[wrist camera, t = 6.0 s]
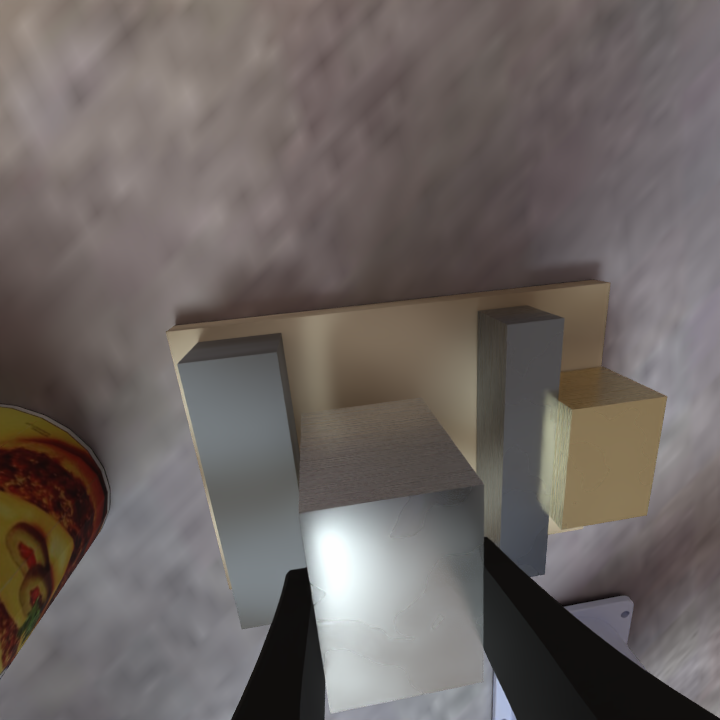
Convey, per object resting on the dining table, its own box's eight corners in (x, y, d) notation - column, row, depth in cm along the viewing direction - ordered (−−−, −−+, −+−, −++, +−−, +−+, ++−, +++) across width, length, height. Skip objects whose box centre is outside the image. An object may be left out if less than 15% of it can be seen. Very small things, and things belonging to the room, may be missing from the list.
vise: (570, 514, 21) (620, 569, 17) (233, 571, 19) (218, 643, 16) (593, 279, 17) (663, 291, 14) (174, 325, 15) (138, 352, 12)
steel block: (421, 397, 13) (484, 484, 9) (428, 543, 15) (483, 682, 10) (301, 413, 13) (298, 513, 8) (322, 561, 15) (330, 713, 10)
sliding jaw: (585, 521, 19) (636, 575, 16) (475, 540, 19) (508, 599, 16) (611, 295, 16) (682, 311, 13) (477, 310, 15) (519, 330, 12)
